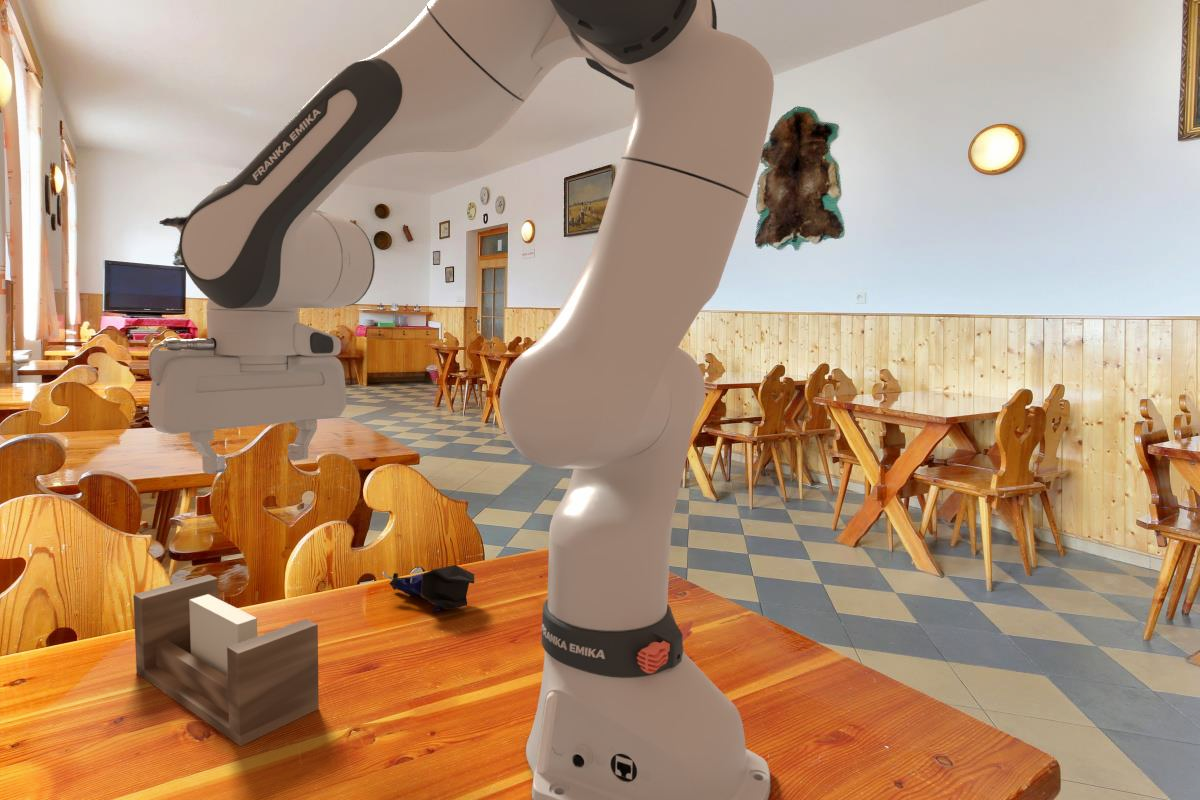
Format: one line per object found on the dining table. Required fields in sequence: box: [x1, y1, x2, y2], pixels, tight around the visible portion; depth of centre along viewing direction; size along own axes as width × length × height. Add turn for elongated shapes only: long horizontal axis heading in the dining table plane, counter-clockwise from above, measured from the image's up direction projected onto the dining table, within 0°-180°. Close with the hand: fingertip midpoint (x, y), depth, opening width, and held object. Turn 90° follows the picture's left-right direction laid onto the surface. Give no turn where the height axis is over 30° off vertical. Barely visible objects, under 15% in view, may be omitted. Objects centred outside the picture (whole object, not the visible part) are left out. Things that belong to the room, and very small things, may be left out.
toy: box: [382, 564, 475, 613], centre depth 97 cm, size 9×6×15 cm
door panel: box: [189, 594, 258, 677], centre depth 73 cm, size 10×2×8 cm, turn 55°
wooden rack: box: [133, 574, 320, 747], centre depth 73 cm, size 22×8×9 cm, turn 55°
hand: (258, 465), depth 75 cm, fingers open, 8 cm apart
